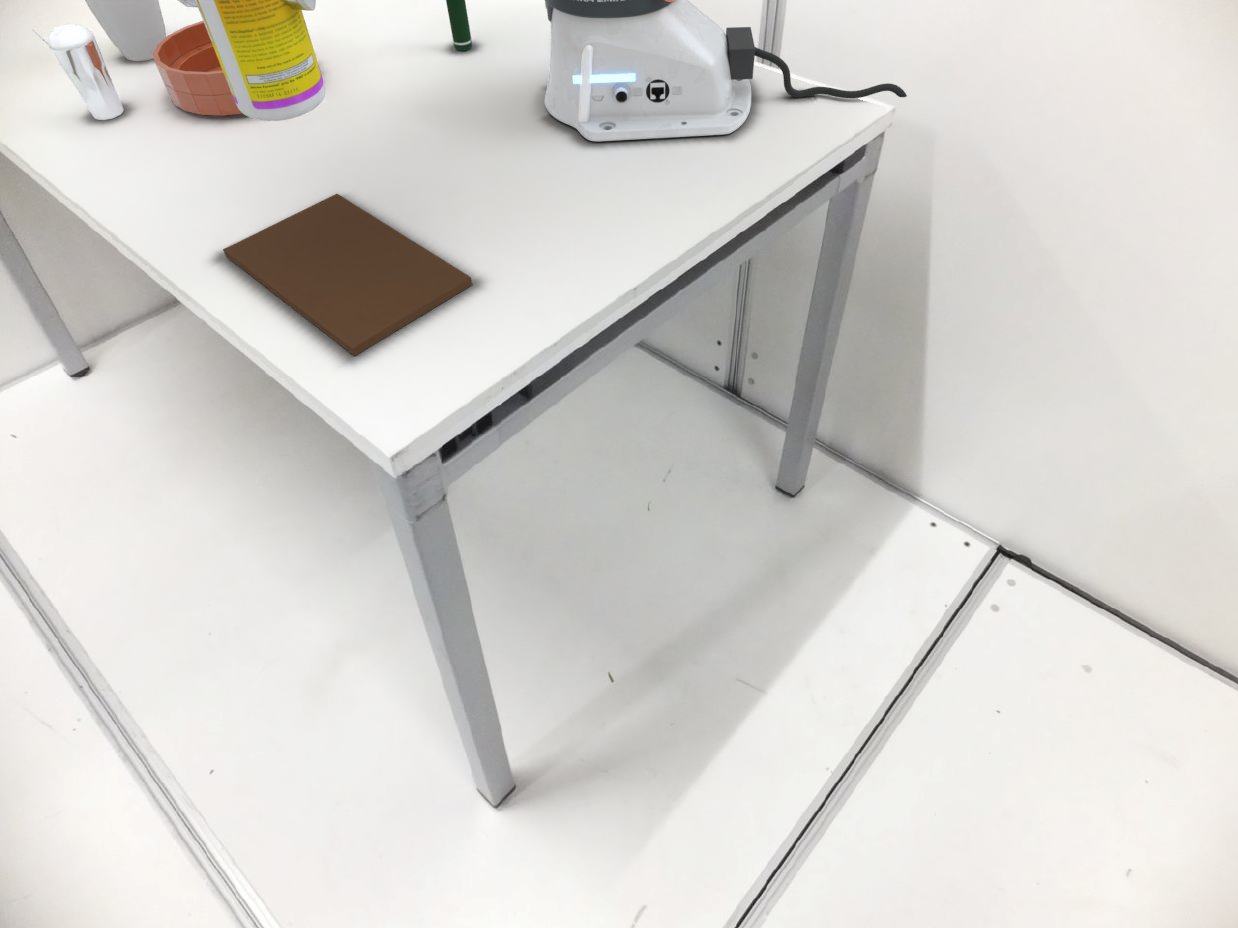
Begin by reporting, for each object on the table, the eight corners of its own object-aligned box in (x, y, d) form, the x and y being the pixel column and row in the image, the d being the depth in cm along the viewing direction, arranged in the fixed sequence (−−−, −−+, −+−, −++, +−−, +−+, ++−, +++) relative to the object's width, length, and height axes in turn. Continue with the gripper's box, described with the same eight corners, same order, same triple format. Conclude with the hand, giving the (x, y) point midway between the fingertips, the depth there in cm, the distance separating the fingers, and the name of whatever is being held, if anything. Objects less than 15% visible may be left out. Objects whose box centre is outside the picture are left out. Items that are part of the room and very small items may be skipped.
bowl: (335, 58, 100) (322, 14, 96) (281, 122, 90) (264, 76, 86) (213, 54, 102) (196, 11, 98) (146, 117, 92) (124, 71, 88)
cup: (191, 39, 106) (155, -49, 98) (162, 67, 100) (122, -24, 93) (131, 38, 106) (91, -49, 99) (99, 66, 101) (54, -24, 93)
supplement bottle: (346, 96, 63) (290, -99, 54) (279, 133, 60) (206, -69, 50) (288, 76, 66) (224, -114, 56) (220, 111, 62) (140, -86, 53)
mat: (472, 285, 70) (471, 277, 69) (354, 356, 64) (351, 348, 64) (339, 200, 79) (336, 193, 79) (226, 257, 74) (222, 249, 73)
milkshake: (72, 120, 92) (19, 25, 84) (114, 100, 95) (67, 7, 87) (96, 130, 90) (44, 34, 83) (138, 110, 93) (92, 15, 85)
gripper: (79, -241, 54) (73, -21, 55) (376, -245, 52) (363, -15, 53) (146, -174, 60) (139, 22, 61) (414, -175, 58) (402, 30, 59)
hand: (245, 5), depth 57 cm, fingers closed on supplement bottle, 6 cm apart
